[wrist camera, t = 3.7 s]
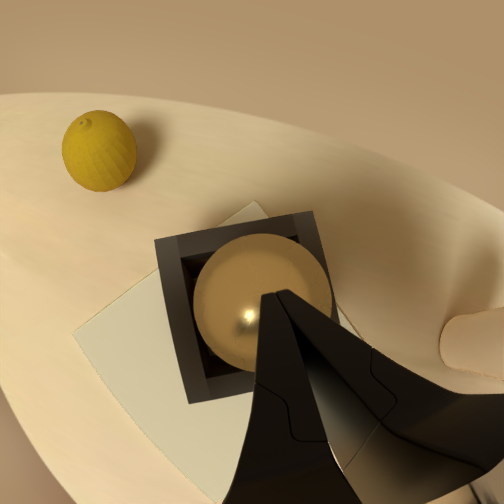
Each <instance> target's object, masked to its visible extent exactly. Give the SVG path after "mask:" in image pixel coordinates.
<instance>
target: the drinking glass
mask: <svg viewBox="0 0 504 504" xmlns="http://www.w3.org/2000/svg"><path fill="white" fill-rule="evenodd" d="M439 347H440V355H441V358H442V360H443V362H444V363H445V364H446V365H447V366H448V367H449V368H452V369H456V370H463V371H468V372H472V373H475V374H479V375H483V376H487V377H491V378H495V379H499V380H503V381H504V307H500V308H496V309H492V310H487V311H482V312H478V313H472V314H463V315H457V316H455V317H453V318H452V319H450V320H449V321H448V322H447V324H446V325H445V327H444V329H443V331H442V334H441V337H440V345H439Z"/></svg>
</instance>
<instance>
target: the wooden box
mask: <svg viewBox="0 0 504 504" xmlns="http://www.w3.org/2000/svg"><path fill="white" fill-rule="evenodd" d="M252 234H273V235H278V236H282V237H285V238H288V239H290V240H293V241H294V242H296V243H298V244H300V245H301V246H303V247H304V248H305V249H306V250H308V251H309V252H310V253H311V254H312V255H313V256H314V257H315V258H316V260H317V261H318V262H319V264H320V265H321V267H322V269H323V270H324V272H325V274H326V277H327V279H328V282H329V285H330V290H331V296H332V310H331V317H330V318H331V319H333V320H334V321H335V322H337V323H338V324H340V320H339V315H338V310H337V306H336V302H335V297H334V293H333V289H332V285H331V280H330V276H329V272H328V268H327V264H326V260H325V256H324V252H323V248H322V245H321V241H320V237H319V233H318V230H317V226H316V222H315V219H314V215H313V212H312V211H307V212H301V213H295V214H290V215H284V216H278V217H272V218H266V219H261V220H255V221H249V222H244V223H238V224H233V225H228V226H222V227H217V228H212V229H206V230H201V231H196V232H191V233H186V234H180V235H175V236H170V237H165V238H160V239H156V240H154V242H155V249H156V255H157V261H158V267H159V273H160V279H161V285H162V290H163V296H164V301H165V306H166V311H167V316H168V321H169V326H170V331H171V335H172V340H173V344H174V348H175V353H176V357H177V361H178V365H179V369H180V373H181V377H182V381H183V385H184V389H185V393H186V396H187V400H188V404H194V403H199V402H205V401H211V400H216V399H221V398H226V397H231V396H236V395H240V394H245V393H249V392H253V387H254V377H255V372H251V371H246V370H243V369H240V368H237V367H235V366H233V365H231V364H229V363H227V362H225V361H224V360H223V359H221V358H220V357H219V356H217V355H213V356H210V355H209V351H208V347H207V344H206V342H205V340H204V339H203V337H202V336H201V333H200V331H199V329H198V326H197V323H196V320H195V315H194V291H195V286H194V281H193V278H198V277H199V275H200V272H201V270H202V269H203V267H204V265H205V264H206V262H207V261H208V260H209V259H210V257H211V256H212V255H213V254H214V253H215V252H216V251H217V250H218V249H220V248H221V247H222V246H224V245H225V244H227V243H229V242H231V241H232V240H235V239H237V238H240V237H243V236H247V235H252ZM340 325H341V324H340Z"/></svg>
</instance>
